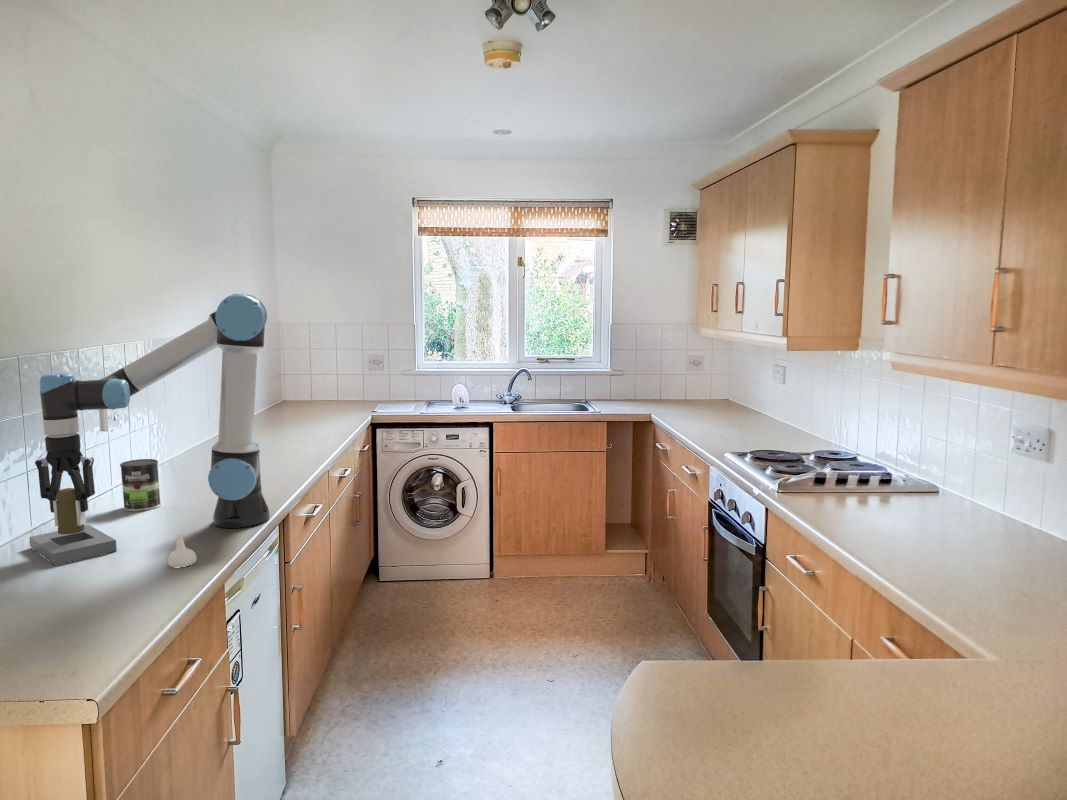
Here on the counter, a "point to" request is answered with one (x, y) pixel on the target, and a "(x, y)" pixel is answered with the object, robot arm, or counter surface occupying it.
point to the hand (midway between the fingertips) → (70, 524)
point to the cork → (68, 512)
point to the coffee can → (140, 484)
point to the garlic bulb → (181, 554)
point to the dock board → (72, 545)
